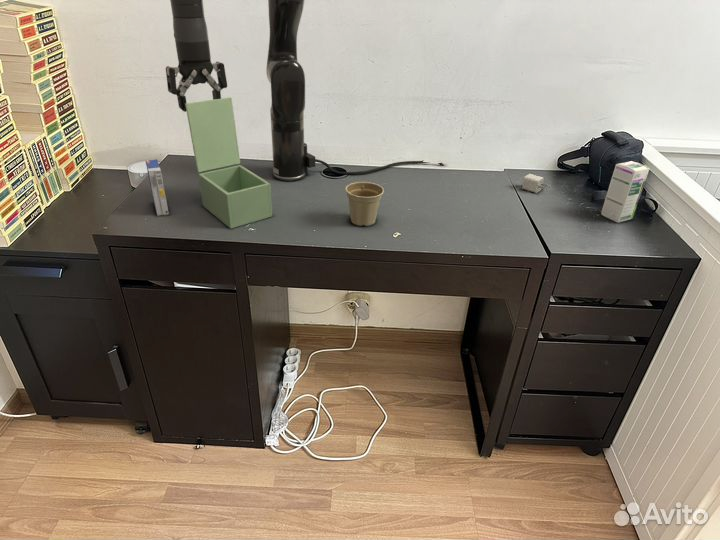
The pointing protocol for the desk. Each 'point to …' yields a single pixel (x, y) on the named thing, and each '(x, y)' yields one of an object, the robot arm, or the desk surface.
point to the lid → (213, 133)
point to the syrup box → (624, 191)
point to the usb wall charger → (534, 183)
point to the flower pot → (364, 202)
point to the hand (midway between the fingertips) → (201, 108)
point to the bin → (236, 195)
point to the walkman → (157, 187)
